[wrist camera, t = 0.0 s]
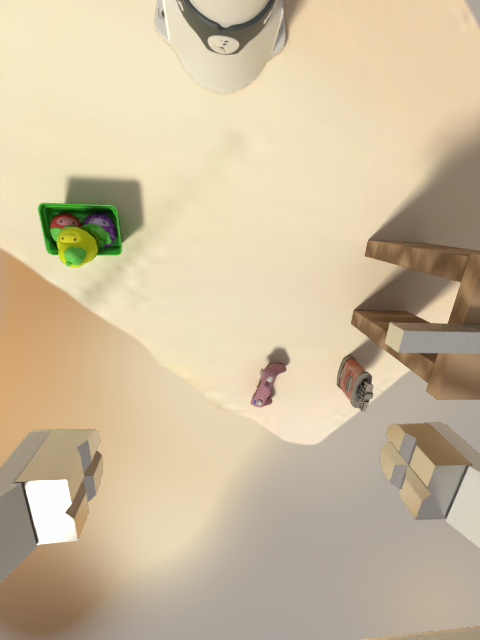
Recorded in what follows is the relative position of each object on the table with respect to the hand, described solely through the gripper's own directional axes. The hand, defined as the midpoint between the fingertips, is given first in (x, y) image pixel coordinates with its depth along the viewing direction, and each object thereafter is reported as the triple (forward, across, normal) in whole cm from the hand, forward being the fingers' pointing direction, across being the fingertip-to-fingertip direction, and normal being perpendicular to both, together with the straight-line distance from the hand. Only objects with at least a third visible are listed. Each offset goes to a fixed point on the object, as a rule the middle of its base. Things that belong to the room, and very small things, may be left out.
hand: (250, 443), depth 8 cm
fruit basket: (+48, +21, -2) cm, 53 cm away
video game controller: (+48, -12, +27) cm, 57 cm away
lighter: (+48, -30, +25) cm, 62 cm away
